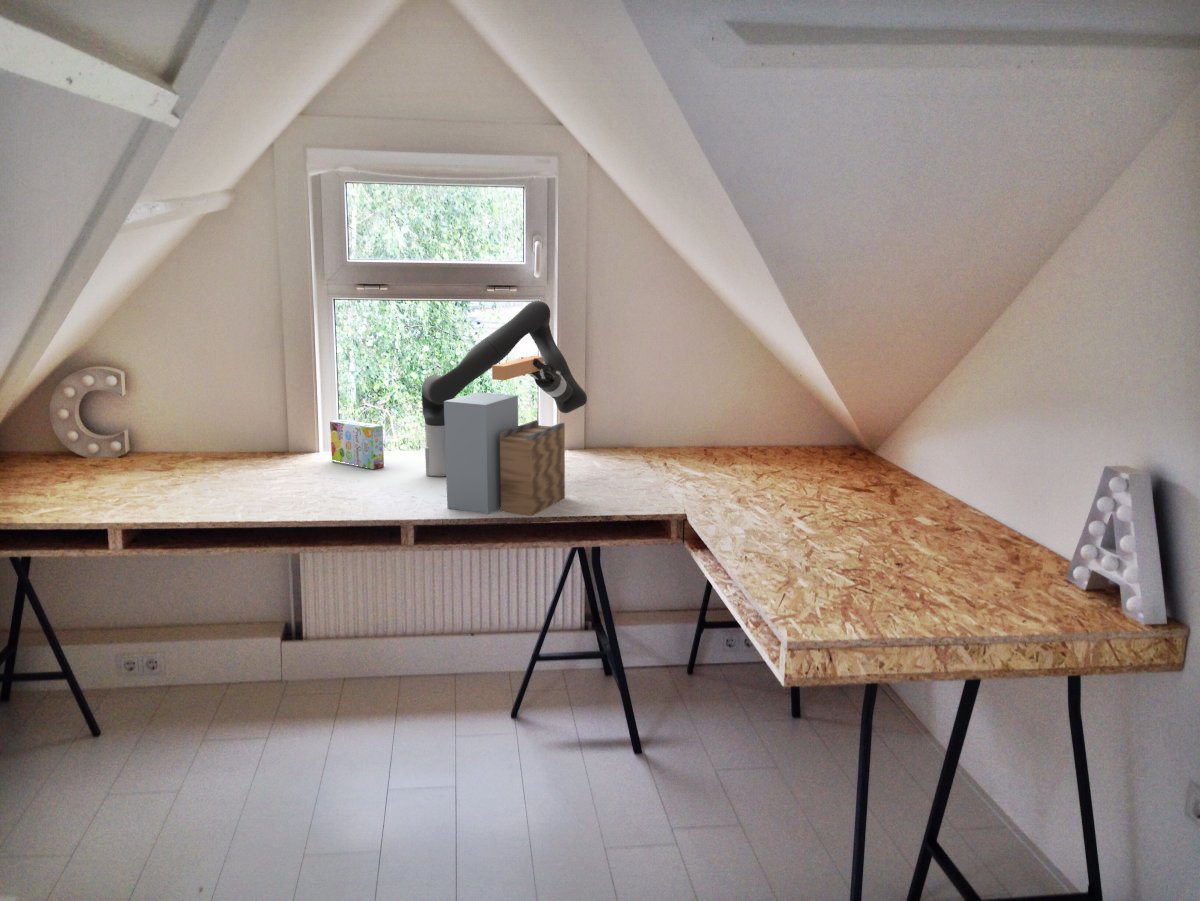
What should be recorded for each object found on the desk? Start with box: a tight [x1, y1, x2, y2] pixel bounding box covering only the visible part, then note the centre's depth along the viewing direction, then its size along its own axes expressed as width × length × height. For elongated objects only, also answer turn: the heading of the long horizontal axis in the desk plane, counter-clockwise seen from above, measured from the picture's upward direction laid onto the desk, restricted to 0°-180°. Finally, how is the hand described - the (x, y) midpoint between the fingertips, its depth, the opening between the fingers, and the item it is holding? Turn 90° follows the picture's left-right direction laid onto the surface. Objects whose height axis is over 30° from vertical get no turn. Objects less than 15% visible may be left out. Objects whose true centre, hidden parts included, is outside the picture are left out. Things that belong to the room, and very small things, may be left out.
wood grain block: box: [500, 419, 566, 517], centre depth 279 cm, size 21×10×24 cm, turn 155°
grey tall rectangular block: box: [444, 391, 519, 515], centre depth 279 cm, size 18×14×32 cm
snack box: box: [329, 419, 385, 470], centre depth 329 cm, size 21×6×15 cm, turn 58°
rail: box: [491, 355, 544, 381], centre depth 282 cm, size 24×4×4 cm, turn 155°
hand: (528, 360), depth 287 cm, fingers closed on rail, 4 cm apart
